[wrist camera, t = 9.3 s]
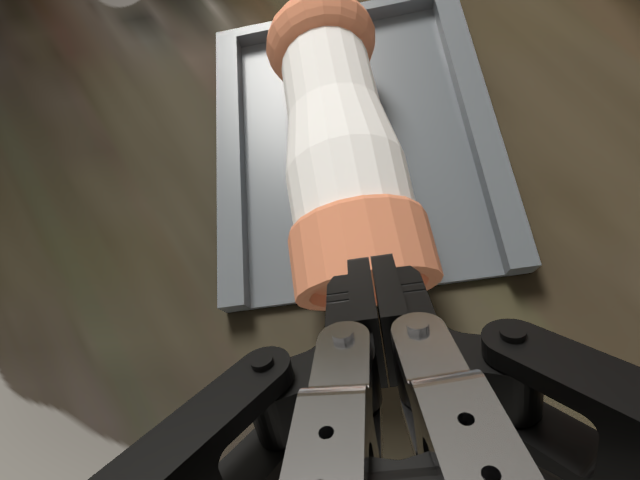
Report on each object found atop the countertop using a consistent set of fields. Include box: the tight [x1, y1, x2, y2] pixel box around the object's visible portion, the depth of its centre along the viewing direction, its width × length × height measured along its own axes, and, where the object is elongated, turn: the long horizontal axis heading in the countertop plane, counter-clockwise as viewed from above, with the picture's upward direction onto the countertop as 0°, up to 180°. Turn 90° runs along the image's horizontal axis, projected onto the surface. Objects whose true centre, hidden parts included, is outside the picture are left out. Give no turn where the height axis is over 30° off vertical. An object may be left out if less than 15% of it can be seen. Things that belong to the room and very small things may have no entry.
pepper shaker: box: [266, 0, 444, 311], centre depth 24 cm, size 7×7×19 cm
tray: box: [216, 0, 542, 313], centre depth 27 cm, size 18×22×2 cm
